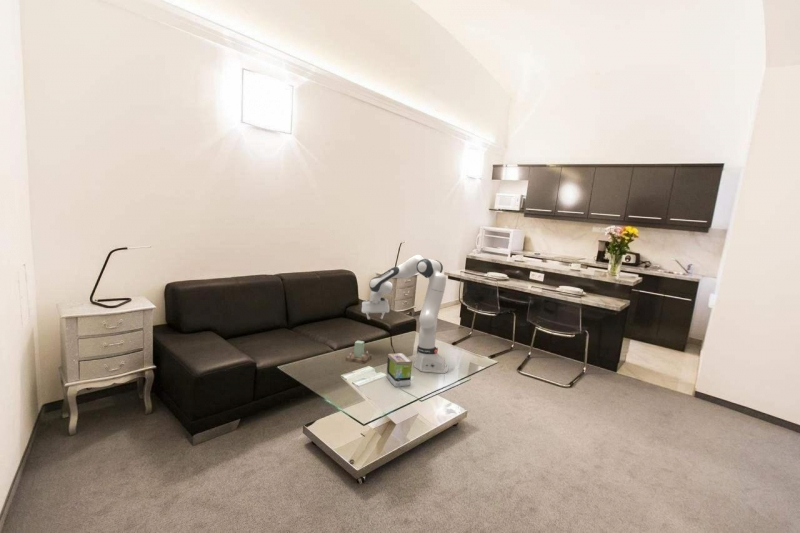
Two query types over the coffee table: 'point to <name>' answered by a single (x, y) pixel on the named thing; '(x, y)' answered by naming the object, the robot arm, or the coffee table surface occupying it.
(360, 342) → the sage post
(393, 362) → the tea box
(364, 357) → the walnut peg plate
